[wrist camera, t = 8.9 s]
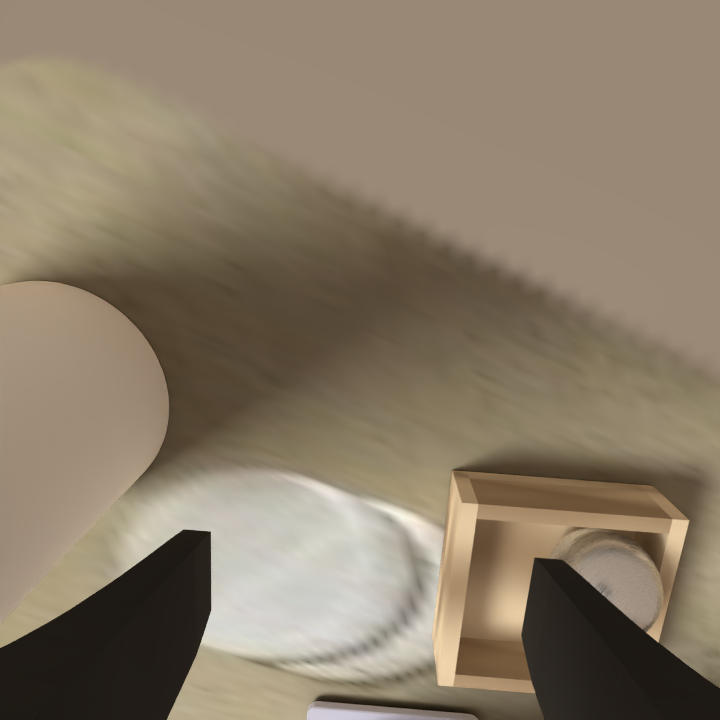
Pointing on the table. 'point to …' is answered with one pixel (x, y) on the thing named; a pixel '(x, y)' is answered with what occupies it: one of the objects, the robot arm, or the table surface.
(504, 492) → the tray
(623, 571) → the ball
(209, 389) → the table surface
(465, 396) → the table surface
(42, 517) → the paper towel roll
